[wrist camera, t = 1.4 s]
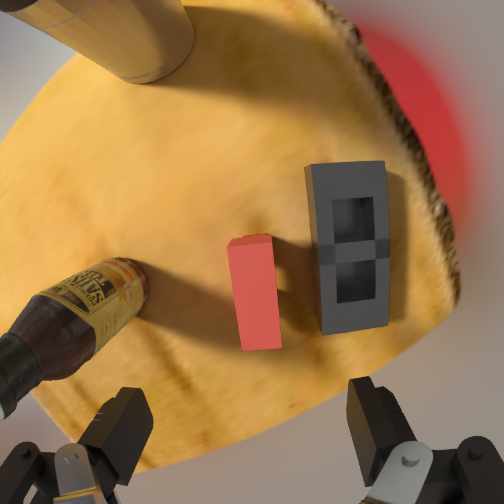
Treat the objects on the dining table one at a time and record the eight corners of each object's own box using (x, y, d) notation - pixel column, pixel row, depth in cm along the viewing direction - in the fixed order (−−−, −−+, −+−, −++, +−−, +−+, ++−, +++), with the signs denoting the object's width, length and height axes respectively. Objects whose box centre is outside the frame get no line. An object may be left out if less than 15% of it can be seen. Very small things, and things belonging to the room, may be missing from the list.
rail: (304, 167, 25) (310, 164, 21) (368, 163, 25) (384, 160, 21) (315, 316, 28) (322, 335, 24) (373, 308, 28) (387, 325, 24)
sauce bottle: (150, 257, 28) (0, 365, 9) (152, 316, 29) (42, 455, 10) (94, 251, 28) (-59, 329, 9) (99, 307, 29) (-25, 413, 10)
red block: (237, 230, 27) (226, 246, 20) (270, 227, 27) (271, 242, 20) (247, 313, 29) (241, 351, 22) (279, 310, 28) (281, 347, 22)
